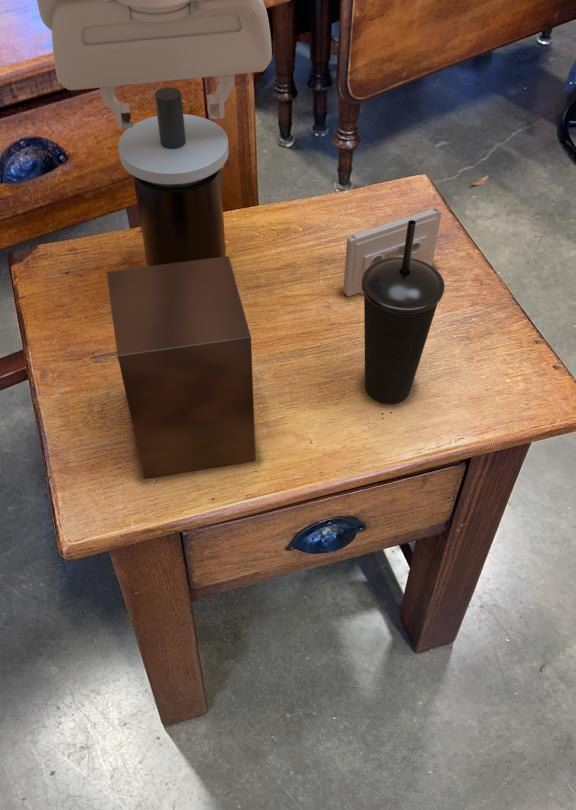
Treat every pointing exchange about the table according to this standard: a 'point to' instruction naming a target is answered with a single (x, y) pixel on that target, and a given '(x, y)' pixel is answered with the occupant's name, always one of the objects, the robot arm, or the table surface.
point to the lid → (173, 144)
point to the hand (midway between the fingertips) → (170, 120)
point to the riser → (185, 364)
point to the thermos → (181, 220)
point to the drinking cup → (397, 321)
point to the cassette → (389, 246)
